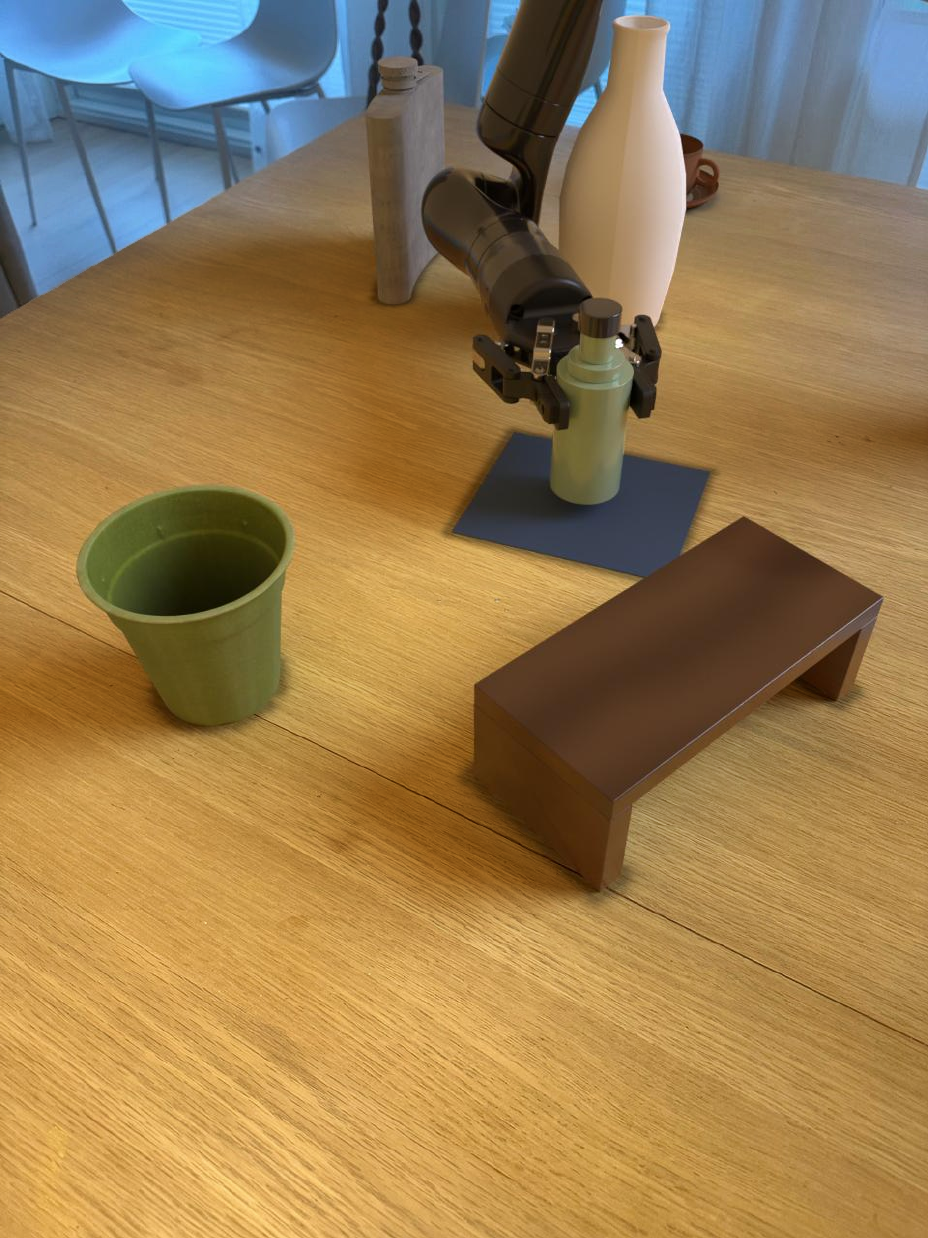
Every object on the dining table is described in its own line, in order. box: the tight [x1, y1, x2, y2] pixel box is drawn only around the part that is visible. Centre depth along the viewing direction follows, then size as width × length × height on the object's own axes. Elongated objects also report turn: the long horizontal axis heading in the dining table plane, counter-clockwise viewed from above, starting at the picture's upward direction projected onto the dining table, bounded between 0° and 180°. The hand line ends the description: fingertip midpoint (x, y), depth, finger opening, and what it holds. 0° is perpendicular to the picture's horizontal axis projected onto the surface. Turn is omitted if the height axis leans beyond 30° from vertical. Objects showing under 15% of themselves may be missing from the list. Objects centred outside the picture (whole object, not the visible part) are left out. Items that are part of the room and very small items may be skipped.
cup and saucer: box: [679, 132, 721, 210], centre depth 120 cm, size 12×12×6 cm
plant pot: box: [75, 484, 296, 727], centre depth 62 cm, size 12×12×11 cm
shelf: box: [473, 515, 885, 893], centre depth 60 cm, size 10×22×8 cm, turn 130°
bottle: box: [557, 14, 687, 328], centre depth 92 cm, size 11×11×25 cm
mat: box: [451, 431, 711, 579], centre depth 79 cm, size 16×14×1 cm
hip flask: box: [365, 55, 446, 305], centre depth 101 cm, size 16×4×20 cm, turn 165°
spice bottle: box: [549, 298, 634, 505], centre depth 73 cm, size 5×5×14 cm
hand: (606, 412), depth 71 cm, fingers closed on spice bottle, 5 cm apart
